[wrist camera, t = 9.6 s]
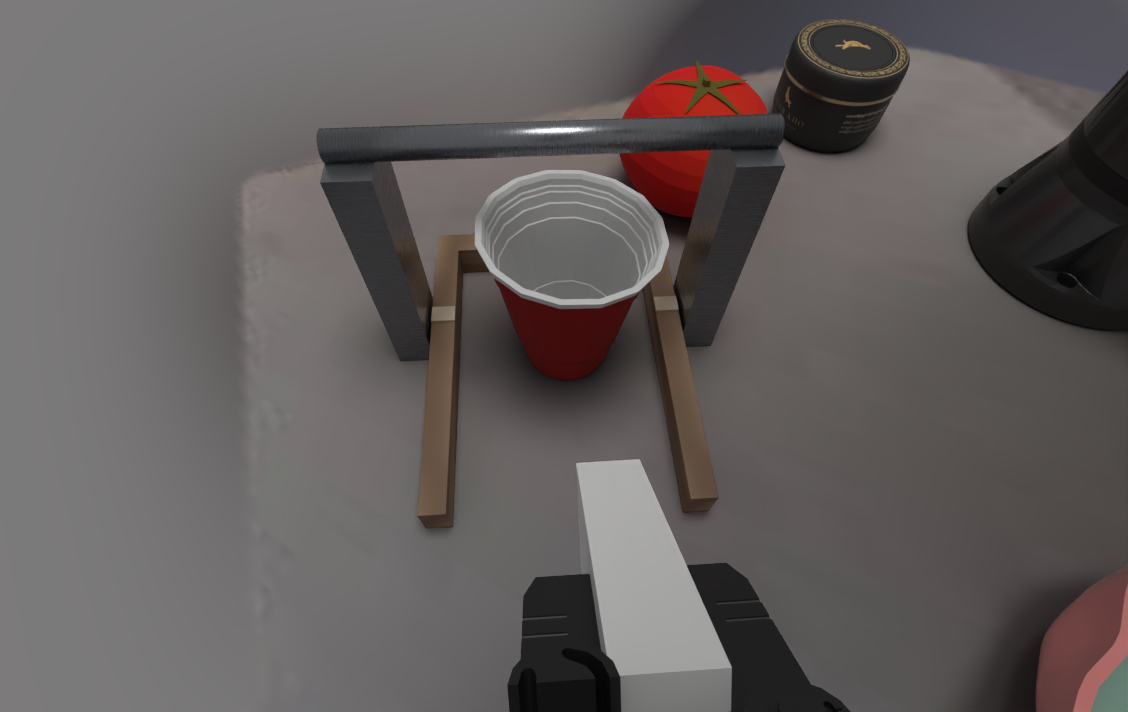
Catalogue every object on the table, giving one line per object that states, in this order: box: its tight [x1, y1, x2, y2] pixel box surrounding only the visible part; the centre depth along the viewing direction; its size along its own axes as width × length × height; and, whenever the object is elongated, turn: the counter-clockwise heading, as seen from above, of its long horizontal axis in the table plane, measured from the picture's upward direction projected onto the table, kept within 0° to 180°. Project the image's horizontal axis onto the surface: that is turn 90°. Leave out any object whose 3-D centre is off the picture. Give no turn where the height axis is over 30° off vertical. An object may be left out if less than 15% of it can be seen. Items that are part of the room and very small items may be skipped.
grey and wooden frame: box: [317, 113, 785, 528], centre depth 33 cm, size 22×22×17 cm
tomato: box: [619, 61, 768, 217], centre depth 45 cm, size 11×12×10 cm
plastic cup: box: [475, 170, 669, 381], centre depth 36 cm, size 11×11×12 cm
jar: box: [773, 19, 910, 152], centre depth 52 cm, size 10×10×8 cm
